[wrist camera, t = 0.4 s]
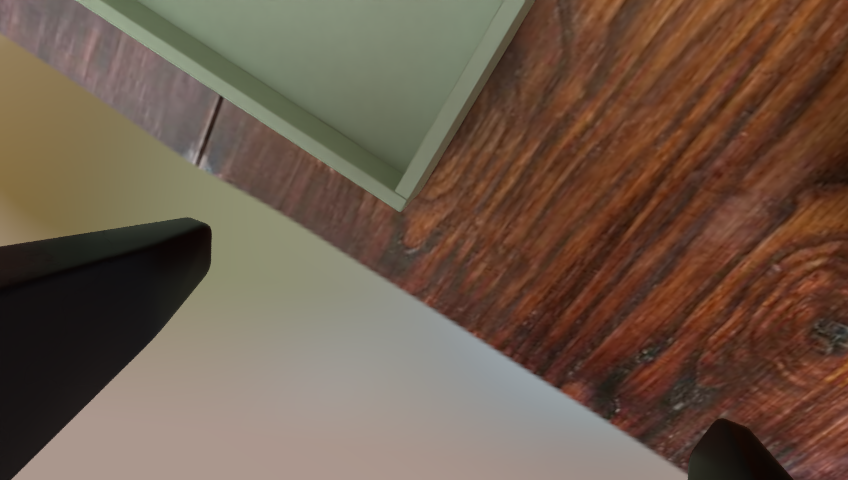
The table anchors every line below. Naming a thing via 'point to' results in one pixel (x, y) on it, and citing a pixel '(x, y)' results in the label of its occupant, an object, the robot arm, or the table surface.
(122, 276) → the robot arm
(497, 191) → the table surface
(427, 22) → the tray
